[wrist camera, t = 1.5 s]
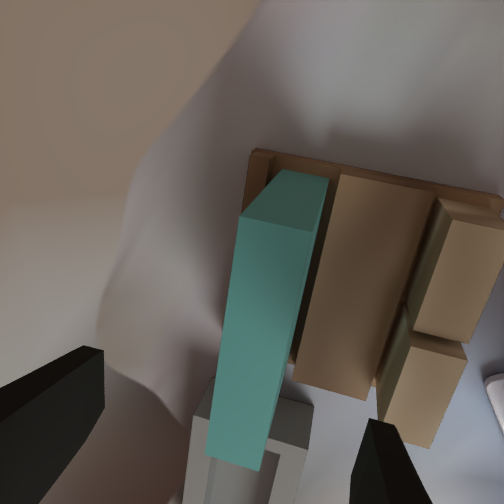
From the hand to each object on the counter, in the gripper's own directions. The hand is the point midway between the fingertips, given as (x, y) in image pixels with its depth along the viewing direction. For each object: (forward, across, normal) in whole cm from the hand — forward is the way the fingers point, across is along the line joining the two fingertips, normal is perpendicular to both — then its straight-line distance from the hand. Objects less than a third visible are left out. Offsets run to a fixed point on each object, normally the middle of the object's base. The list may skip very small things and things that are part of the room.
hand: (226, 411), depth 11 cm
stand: (+10, 0, +14) cm, 17 cm away
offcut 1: (+9, -7, -2) cm, 11 cm away
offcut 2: (+9, -6, +2) cm, 11 cm away
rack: (+10, -3, 0) cm, 10 cm away
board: (+9, 0, 0) cm, 9 cm away
